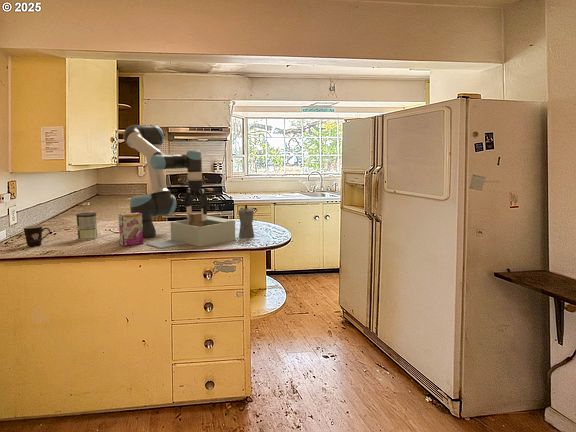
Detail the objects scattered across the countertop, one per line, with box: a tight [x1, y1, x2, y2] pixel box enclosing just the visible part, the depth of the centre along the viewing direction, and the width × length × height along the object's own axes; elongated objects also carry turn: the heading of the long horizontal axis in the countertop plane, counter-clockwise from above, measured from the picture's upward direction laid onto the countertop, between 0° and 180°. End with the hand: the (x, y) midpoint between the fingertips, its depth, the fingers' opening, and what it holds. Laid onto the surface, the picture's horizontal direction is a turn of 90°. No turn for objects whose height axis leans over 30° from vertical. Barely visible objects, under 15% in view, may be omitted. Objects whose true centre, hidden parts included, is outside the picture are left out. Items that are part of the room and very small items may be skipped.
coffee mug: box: [22, 225, 51, 247], centre depth 250 cm, size 12×9×10 cm
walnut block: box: [188, 212, 204, 227], centre depth 259 cm, size 5×6×10 cm
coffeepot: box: [237, 204, 255, 239], centre depth 272 cm, size 15×9×18 cm, turn 26°
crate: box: [170, 215, 236, 248], centre depth 263 cm, size 26×24×11 cm
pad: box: [146, 239, 186, 250], centre depth 251 cm, size 14×14×1 cm
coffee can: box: [76, 212, 99, 241], centre depth 267 cm, size 10×10×14 cm
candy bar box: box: [118, 212, 144, 247], centre depth 251 cm, size 11×5×16 cm, turn 131°
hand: (196, 219), depth 259 cm, fingers open, 13 cm apart
